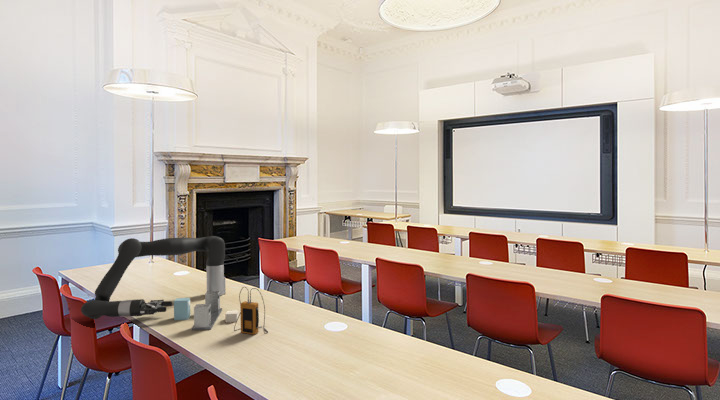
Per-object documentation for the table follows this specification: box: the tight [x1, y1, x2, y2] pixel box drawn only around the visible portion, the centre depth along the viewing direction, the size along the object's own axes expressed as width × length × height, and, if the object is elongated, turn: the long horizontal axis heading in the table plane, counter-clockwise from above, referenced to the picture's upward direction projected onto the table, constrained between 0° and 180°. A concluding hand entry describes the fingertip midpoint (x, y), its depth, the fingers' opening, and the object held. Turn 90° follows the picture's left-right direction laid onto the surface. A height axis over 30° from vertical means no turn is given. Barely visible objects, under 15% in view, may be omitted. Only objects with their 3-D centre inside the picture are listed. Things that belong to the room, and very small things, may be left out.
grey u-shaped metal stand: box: [191, 290, 223, 332], centre depth 183 cm, size 26×8×10 cm, turn 9°
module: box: [173, 297, 191, 321], centre depth 185 cm, size 4×6×9 cm
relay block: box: [225, 309, 239, 323], centre depth 183 cm, size 5×5×4 cm
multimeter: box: [233, 286, 269, 336], centre depth 171 cm, size 15×10×20 cm
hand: (169, 306), depth 184 cm, fingers open, 8 cm apart
